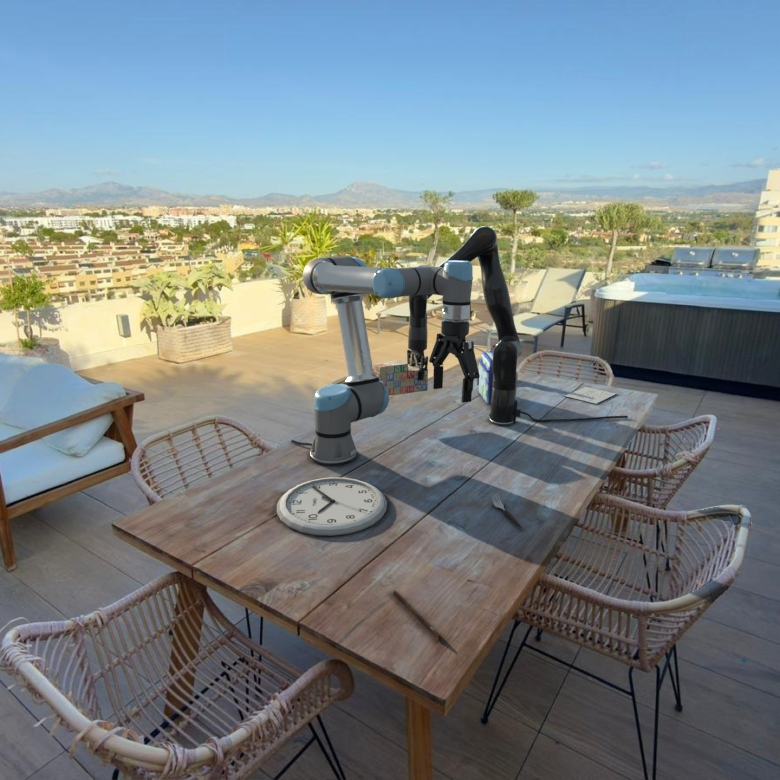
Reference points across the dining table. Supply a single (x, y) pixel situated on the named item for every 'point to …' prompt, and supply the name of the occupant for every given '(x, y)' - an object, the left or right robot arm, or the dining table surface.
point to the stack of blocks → (400, 377)
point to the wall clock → (331, 506)
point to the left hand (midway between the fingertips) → (451, 394)
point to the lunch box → (486, 376)
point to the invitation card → (590, 395)
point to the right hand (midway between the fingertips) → (416, 377)
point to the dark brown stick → (416, 614)
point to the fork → (500, 505)
